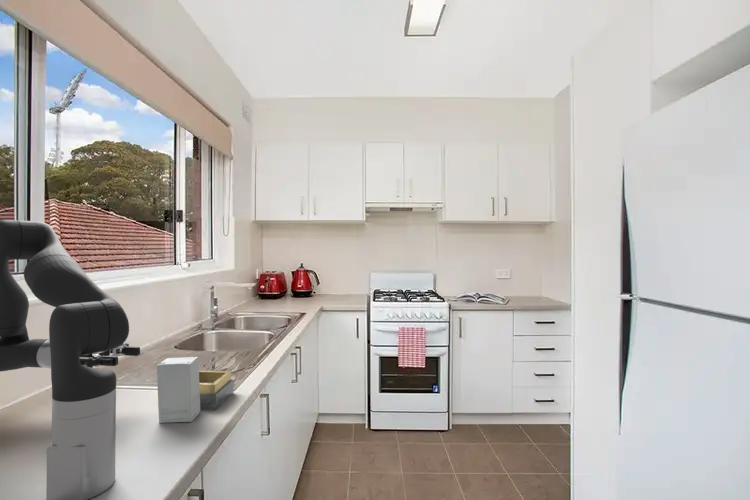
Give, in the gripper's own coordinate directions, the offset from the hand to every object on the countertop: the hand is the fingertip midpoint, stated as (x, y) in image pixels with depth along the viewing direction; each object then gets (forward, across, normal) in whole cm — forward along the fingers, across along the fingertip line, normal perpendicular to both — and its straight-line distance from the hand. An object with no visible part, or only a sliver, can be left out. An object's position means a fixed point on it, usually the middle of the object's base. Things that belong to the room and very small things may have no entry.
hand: (128, 356), depth 99 cm
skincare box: (+13, 0, +16) cm, 20 cm away
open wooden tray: (+13, +13, +15) cm, 24 cm away
